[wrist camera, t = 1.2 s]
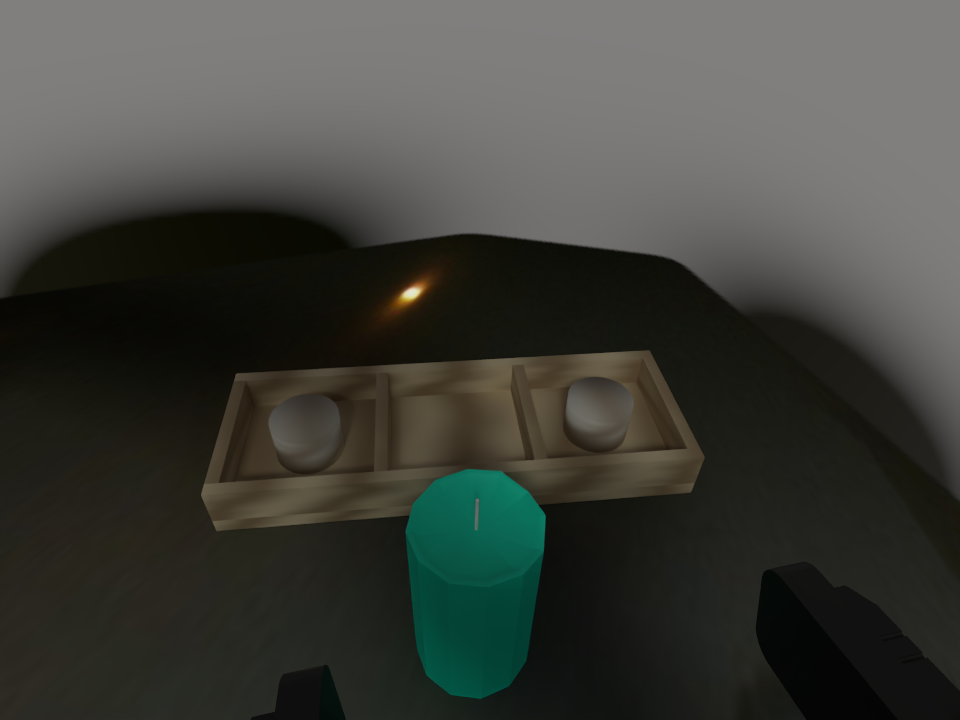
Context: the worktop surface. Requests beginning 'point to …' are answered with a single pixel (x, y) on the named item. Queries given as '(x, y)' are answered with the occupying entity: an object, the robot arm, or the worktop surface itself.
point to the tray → (444, 436)
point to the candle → (474, 579)
